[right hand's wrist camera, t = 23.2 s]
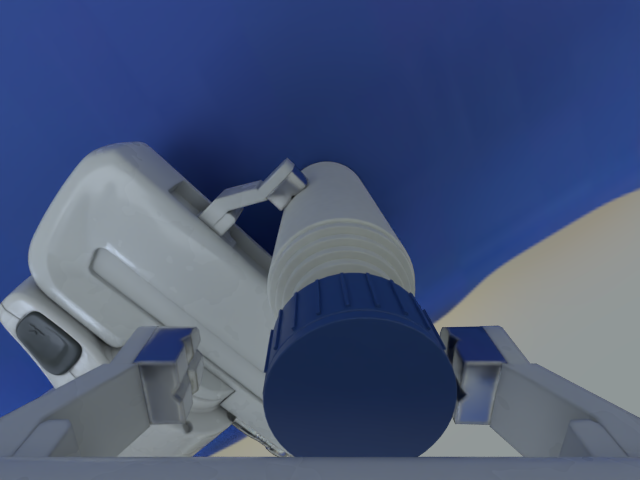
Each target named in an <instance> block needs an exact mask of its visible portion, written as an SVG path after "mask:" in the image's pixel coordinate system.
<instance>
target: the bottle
mask: <svg viewBox="0 0 640 480" xmlns="http://www.w3.org/2000/svg"><path fill="white" fill-rule="evenodd" d="M301 172H302V173H303V174H304V175H305V176H306V177H307V178H308V184H307V186H306V187H305V188H304V189H303V190H302V191H301V192H300V193H299V194H297V195H296V196H292V199H291V202H290V203H289V204H288V205H287V206H286V207H285V208H284V211H283V215H282V219H281V224H280V228H279V232H278V236H277V240H276V244H275V249H274V253H273V257H272V261H271V265H270V269H269V273H268V280H267V294H268V299H269V303H270V306H271V310H272V312H273V315H274V318H275V320H277V318H278V314H279V310H280V309H281V310H282V309H283V307H284V306H285V305H286V303H287V302H288V301H289V300H290V299H291V298H292V297H293V296H294V293H295V292H298V291H300V290H301V289H303V288H304V287H306V286H307V285H309V284H311V283H313V282H315V280H317V279H322V278H325V277H327V276H331V275H336V274H340V273H342V272H343V273H365V274H366V273H369V274H372V275H376V276H379V277H383V278H385V279H388V280H390V279H391V280H393V281H394V283H396V284H397V285H399V286H401V287H402V288H403V289H405V290H406V291H407V292H408V293H410V292H411V293H412V294H413V295H414V297H415V274H414V270H413V265H412V263H411V260H410V257H409V255H408V254H407V252H406V250H405V248H404V247H403V245H402V244H401V242H400V241H399V239H398V237H397V236H396V234H395V233H394V231H393V230H392V228H391V227H390V225H389V224H388V222H387V220H386V219H385V217H384V216H383V214H382V213H381V211H380V210H379V208H378V207H377V205H376V203H375V202H374V200H373V199H372V197H371V196H370V194H369V193H368V191H367V190H366V188H365V186H364V185H363V183H362V182H361V180H360V179H359V177H358V176H357V175H356V174H355V173H354V172H353V171H352V170H351V169H349V168H348V167H346V166H344V165H342V164H339V163H335V162H318V163H315V164H312V165H310V166H308V167H306V168H304V169H303V170H302V171H301Z"/></svg>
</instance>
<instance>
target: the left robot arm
mask: <svg viewBox="0 0 640 480" xmlns="http://www.w3.org/2000/svg"><path fill="white" fill-rule="evenodd" d="M307 184H308V178H307V177H306V176H305V175H304V174H303V173H302V172H301V171H300V170H299V169H298V168H297V167H296V166H295V165H294V164H293V163H292V162H291V161H290V160H289V159H288V158H286V159H285V160H284V161H283V162H282V163H281V164H280V165H279V166H278V167H277V168H276V169H275V170H274V171H273V172H272V173H271V174H270V175H269V176H268V177H267V178H266V179H265V180H264V181H262V180H259V181H255V182H251V183H247V184H243V185H239V186H235V187H231V188H227V189H225V190H224V191H223V192H222V193H221V194H220V195H219V196H218V197H217V198H216V199H215V200H214V201H213V202H211V201H210V200H209V199H208V198H206V197H205V196H204V195H203V194H202V193H201V192H200V191H199V190H197V189H196V188H195V187H194V186H193V185H192V184H191V183H190V182H189V181H187V180H186V179H185V178H184V177H183V176H182V175H181V174H180V173H179V172H177V171H176V170H175V169H174V168H173V167H172V166H171V165H170V164H169V163H167V162H166V161H165V160H164V159H163V158H162V157H161V156H160V155H159V154H157V153H156V152H155V151H154V150H153V149H152V148H151V147H150V146H148V145H147V144H145V143H143V142H122V143H115V144H110V145H106V146H103V147H101V148H98V149H96V150H94V151H92V152H91V153H89V154H88V155H87V156H86V157H84V158H83V159H82V161H81V162H80V163H79V164H78V165H77V167H76V168H75V169H74V170H73V172H72V173H71V174H70V176H69V177H68V178H67V180H66V181H65V183H64V184H63V186H62V187H61V188H60V190H59V191H58V193H57V195H56V196H55V198H54V199H53V201H52V202H51V204H50V206H49V207H48V209H47V211H46V212H45V214H44V216H43V218H42V220H41V222H40V224H39V226H38V227H37V229H36V231H35V233H34V235H33V238H32V240H31V243H30V247H29V252H28V264H29V269H30V272H31V276H30V277H28V278H27V279H26V280H25V281H23V282H22V283H21V284H20V285H19V286H18V287H17V288H16V289H14V290H13V291H12V292H11V293H10V294H9V295H8V296H7V297H6V298H5V299H4V300H3V301H2V303H1V304H0V321H1V323H2V325H3V326H4V327H5V328H6V330H7V331H8V332H9V333H10V334H11V335H12V336H13V337H14V338H15V340H16V341H17V342H18V343H19V344H20V345H21V346H22V347H23V348H24V350H25V351H26V352H27V353H28V354H29V355H30V356H31V358H32V359H33V360H34V361H35V363H36V364H37V365H38V366H39V367H40V369H41V370H42V371H43V373H44V374H45V375H46V377H47V378H48V379H49V381H50V382H51V384H52V385H53V388H52V389H50V390H49V391H47V392H46V393H44V394H43V395H45V394H47V393H49V392H50V391H52V390H54V389H56V388H58V387H60V386H62V385H64V384H66V383H68V382H70V381H72V380H73V379H75V378H77V377H79V376H81V375H83V374H85V373H87V372H89V371H91V370H93V369H94V368H96V367H98V366H100V365H102V364H110V363H111V361H112V360H113V359H114V357H115V356H116V355H117V353H118V352H119V351H120V350H121V348H122V347H123V346H124V344H125V343H126V342H127V341H128V339H129V338H130V337H131V335H132V334H133V333H134V332H135V330H136V329H137V328H138V327H141V326H183V327H197V328H198V329H199V332H200V338H201V341H200V344H199V346H198V348H197V349H198V350H199V351H200V352H201V353H202V354H203V361H204V372H203V377H202V383H201V385H200V388H199V390H198V391H197V392H196V393H194V394H193V395H192V398H193V405H192V408H191V410H190V413H189V415H188V417H187V420H186V422H185V424H161V425H150V427H149V428H148V429H147V430H146V431H145V432H144V433H143V434H141V435H140V436H139V437H138V438H137V439H136V440H135V441H134V442H132V443H131V444H130V445H129V446H128V447H127V448H126V449H125V450H123V451H122V452H121V453H120V454H119V455H118V456H117V457H192V456H193V455H195V454H196V453H197V452H198V451H200V450H201V449H202V448H203V447H205V446H206V445H207V444H208V443H210V442H211V441H212V440H213V439H214V438H216V437H217V436H218V435H219V434H221V433H222V432H223V431H224V430H225V429H227V428H228V427H229V426H230V425H231V424H232V425H233V426H235V427H236V428H237V429H239V430H240V431H242V432H243V433H244V434H246V435H247V436H249V437H251V438H253V439H255V440H257V441H258V442H260V443H262V444H263V445H264V446H265V447H266V449H267V450H268V451H269V452H271V453H272V454H273V455H275V456H277V457H287V456H289V457H294V456H293V455H291V454H290V453H289V452H287V451H286V450H285V449H284V448H283V447H282V446H281V445H280V443H279V442H278V441H277V439H276V438H275V437H274V435H273V434H272V432H271V430H270V428H269V426H268V423H267V421H266V418H265V414H264V408H263V387H264V381H265V375H266V373H264V367H265V361H266V355H267V349H268V344H269V338H270V332H271V329H272V330H273V329H274V326H275V323H276V320H275V318H274V315H273V312H272V310H271V306H270V303H269V299H268V294H267V280H268V273H269V269H270V265H271V261H272V256H271V255H270V254H269V253H268V252H267V251H265V250H264V249H263V248H262V247H261V246H260V245H259V244H258V243H257V242H255V241H254V240H253V239H252V238H251V237H250V236H249V235H248V234H246V233H245V232H244V231H243V230H242V229H241V228H240V227H239V226H238V225H236V224H235V222H236V220H237V219H238V217H239V216H240V214H241V212H242V211H243V207H245V206H248V205H252V204H255V203H259V202H263V201H266V200H269V201H270V202H271V203H273V204H274V205H275V206H276V207H277V208H278V209H279V210H280V211H282V210H283V209H284V208H285V207H286V206H287V205H288V204H289V203H290V202H291V199H292V196H296V195H297V194H299V193H300V192H301V191H302V190H303V189H304V188H305V187H306V186H307ZM43 395H42V396H43Z"/></svg>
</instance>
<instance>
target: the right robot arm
mask: <svg viewBox="0 0 640 480" xmlns="http://www.w3.org/2000/svg"><path fill="white" fill-rule="evenodd" d="M440 338H441V340H442V341H443V343H444V345H445V347H446V350H444V351H445V353H446V355H447V357H448V359H449V361H450V363H451V365H452V367H453V370H454V373H455V376H456V382H457V400H456V406H455V410H454V413H453V416H452V417H453V420H454V422H455V424H479V425H490V427H491V428H492V429H493V430H494V431H495V432H497V433H498V434H499V435H500V436H501V437H502V438H503V439H504V440H506V441H507V442H508V443H509V444H510V445H511V446H512V447H513V448H514V449H516V450H517V451H518V452H519V453H520V454H521V455H522V456H523V457H117V456H118V455H119V454H120V453H121V452H122V451H123V450H125V449H126V448H127V447H128V446H129V445H130V444H131V443H132V442H134V441H135V440H136V439H137V438H138V437H139V436H140V435H141V434H143V433H144V432H145V431H146V430H147V429H148V428H149V427H150V425H161V424H185V422H186V420H187V417H188V415H189V413H190V410H191V408H192V405H193V398H192V395H193V394H194V393H196V392H197V391H198V390H199V388H200V385H201V383H202V377H203V372H204V361H203V354H202V353H201V352H200V351H199V350H198V349H197V348H198V346H199V344H200V341H201V338H200V332H199V329H198V328H197V327H183V326H141V327H138V328H137V329H136V330H135V332H134V333H133V334H132V335H131V337H130V338H129V339H128V341H127V342H126V343H125V344H124V346H123V347H122V348H121V350H120V351H119V352H118V353H117V355H116V356H115V357H114V359H113V360H112V361H111V363H110V364H102V365H100V366H98V367H96V368H94V369H93V370H91V371H89V372H87V373H85V374H83V375H81V376H79V377H77V378H75V379H73V380H72V381H70V382H68V383H66V384H64V385H62V386H60V387H58V388H56V389H54V390H52V391H50V392H49V393H47V394H45V395H43V396H41V397H39V398H37V399H35V400H33V401H31V402H29V403H28V404H26V405H24V406H22V407H20V408H18V409H16V410H14V411H12V412H10V413H8V414H7V415H5V416H3V417H1V418H0V480H640V418H639V417H637V416H635V415H633V414H631V413H629V412H627V411H626V410H624V409H622V408H620V407H618V406H616V405H614V404H612V403H610V402H608V401H606V400H605V399H603V398H601V397H599V396H597V395H595V394H593V393H591V392H589V391H587V390H585V389H584V388H582V387H580V386H578V385H576V384H574V383H572V382H570V381H568V380H566V379H565V378H563V377H561V376H559V375H557V374H555V373H553V372H551V371H549V370H547V369H545V368H544V367H542V366H540V365H538V364H530V363H529V361H528V360H527V359H526V357H525V356H524V355H523V354H522V352H521V351H520V350H519V348H518V347H517V346H516V345H515V343H514V342H513V341H512V339H511V338H510V337H509V336H508V334H507V333H506V332H505V330H504V329H503V328H502V327H500V326H480V327H442V329H441V332H440Z"/></svg>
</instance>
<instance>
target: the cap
mask: <svg viewBox="0 0 640 480" xmlns="http://www.w3.org/2000/svg"><path fill="white" fill-rule="evenodd" d="M444 350H446V347H445V345H444V343H443V341H442V340H441V338H440V336H439V334H438V332H437V331H436V329H435V327H434V325H433V323H432V322H431V320H430V318H429V316H428V314H427V313H426V311H425V309H424V310H422V309H421V307H420V306H419V304H418V303H417V301H416V299H415V297H414V295H413V294H412V293H411V292H410V293H408V292H407V291H406V290H405V289H403V288H402V287H401V286H399V285H397V284H396V283H394V281H393V280H391V279H390V280H388V279H385V278H383V277H379V276H376V275H372V274H369V273H366V274H365V273H343V272H342V273H340V274H336V275H331V276H327V277H325V278H322V279H317V280H315V282H313V283H311V284H309V285H307V286H306V287H304V288H303V289H301V290H300V291H298V292H295V293H294V296H293V297H292V298H291V299H290V300H289V301H288V302H287V303H286V305H285V306H284V307H283V309H282V310H281V309H280V310H279V314H278V318H277V320H276V323H275V326H274V329H273V330H272V329H271V332H270V338H269V344H268V349H267V355H266V361H265V367H264V373H266V375H265V381H264V387H263V408H264V414H265V418H266V421H267V423H268V426H269V428H270V430H271V432H272V434H273V435H274V437H275V438H276V439H277V441H278V442H279V443H280V445H281V446H282V447H283V448H284V449H285V450H286V451H287V452H289V453H290V454H291V455H293V456H294V457H418V456H420V455H421V454H423V453H424V452H425V451H426V450H428V449H429V448H430V447H431V446H432V445H433V444H434V443H435V442H436V441H437V440H438V439H439V438H440V437H441V435H442V434H443V433H444V431H445V430H446V428H447V426H448V425H449V422H450V421H451V419H452V416H453V413H454V410H455V406H456V400H457V382H456V376H455V373H454V370H453V367H452V365H451V363H450V361H449V359H448V357H447V355H446V353H445V351H444Z"/></svg>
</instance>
